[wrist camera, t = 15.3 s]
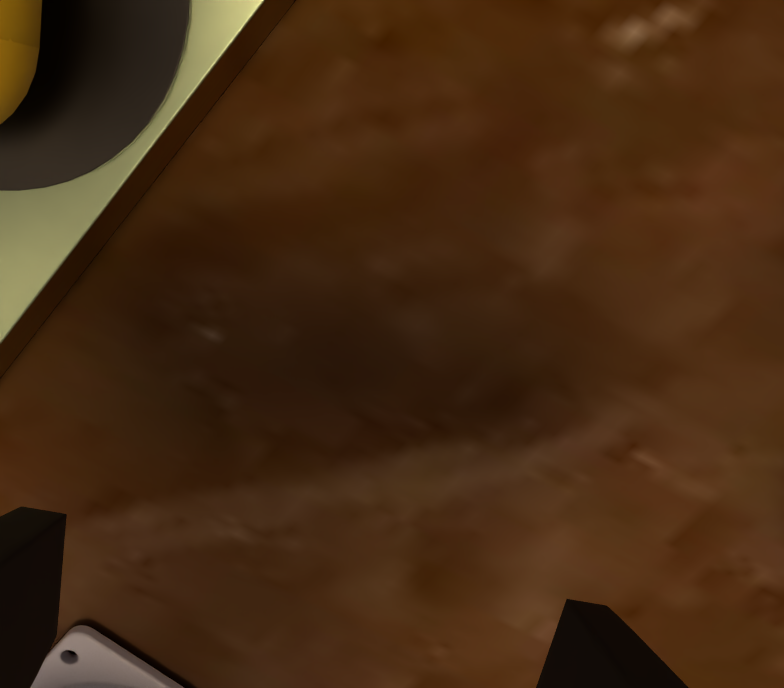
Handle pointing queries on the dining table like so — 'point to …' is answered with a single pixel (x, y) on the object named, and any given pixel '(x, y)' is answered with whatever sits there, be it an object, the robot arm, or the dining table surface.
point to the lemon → (17, 51)
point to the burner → (92, 87)
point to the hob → (116, 174)
